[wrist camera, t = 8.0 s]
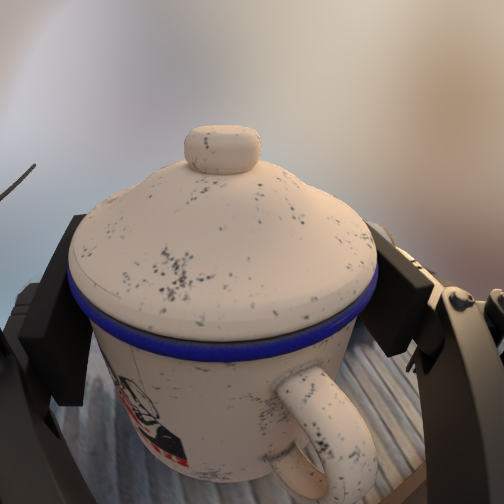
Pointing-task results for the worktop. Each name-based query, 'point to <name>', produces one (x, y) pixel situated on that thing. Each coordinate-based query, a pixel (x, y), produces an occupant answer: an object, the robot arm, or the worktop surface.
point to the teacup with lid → (232, 317)
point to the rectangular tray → (410, 489)
